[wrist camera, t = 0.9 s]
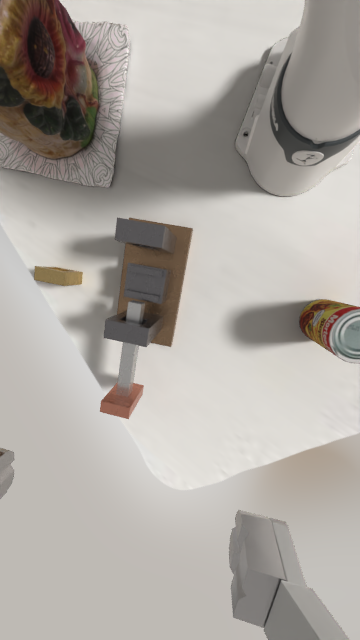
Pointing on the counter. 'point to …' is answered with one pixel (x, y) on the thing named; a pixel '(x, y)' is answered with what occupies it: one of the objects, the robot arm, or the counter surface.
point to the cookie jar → (60, 92)
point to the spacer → (58, 276)
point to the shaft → (126, 373)
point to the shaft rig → (150, 280)
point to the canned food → (333, 327)
